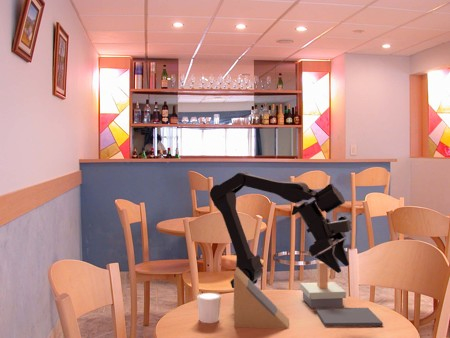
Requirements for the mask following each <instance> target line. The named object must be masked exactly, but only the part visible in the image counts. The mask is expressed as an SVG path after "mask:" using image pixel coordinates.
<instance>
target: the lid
mask: <svg viewBox="0 0 450 338" xmlns="http://www.w3.org/2000/svg"><path fill="white" fill-rule="evenodd" d="M316 263H317V264H316V277H317V279H316V281H315V282H300V283H299V284H300V285H299V289H300V290H301V292H302V293H303V292H304V294H305V295H306V296H307V297H308V298H309V299H332V298H343V299H346V297H347V295H346V294H347V291H346V290H345V289H344V288H342V287H341V286H340V285H338V284H337V283H336V282H335V281H328V279H329V277H328V275H329V274H328V272H329V271H328V269H329V266H328V265H326V264H325V263H323V262H322V261H320V260H319V261H316Z"/></svg>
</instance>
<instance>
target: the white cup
mask: <svg viewBox="0 0 450 338" xmlns="http://www.w3.org/2000/svg"><path fill="white" fill-rule="evenodd" d="M221 300H222V296H221V294H219V293H216V292H204V293H199V294H197V296H196V301H197V302H196V303H197V310H198V311H197V312H198V321H199V320H200V321H201V322H200V321H199V322H200V323H203V324H212V323H213V324H214V323H217V322H219V320H220V309H221Z"/></svg>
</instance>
